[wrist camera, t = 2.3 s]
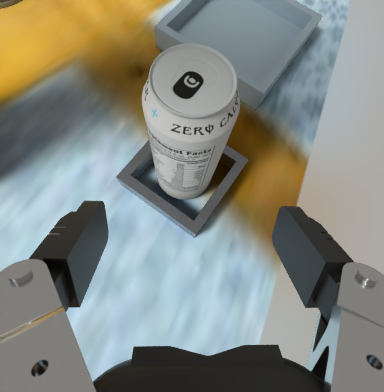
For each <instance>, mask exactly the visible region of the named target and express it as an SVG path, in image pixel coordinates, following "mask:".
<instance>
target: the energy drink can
mask: <svg viewBox="0 0 384 392" xmlns="http://www.w3.org/2000/svg"><path fill="white" fill-rule="evenodd" d="M142 107H143V112H144V117H145V122H146V126H147V131H148V136H149V141H150V145H151V150H152V155H153V160H154V165H155V169H156V174H157V179H158V182H159V184H160V186H161V188H162V189H163V190H164V191H165V192H166V193H167V194H168V195H170V196H172V197H174V198H177V199H183V200H184V199H192V198H195V197H197V196H199V195H200V194H202V193H203V192H204V191H205V190H206V189H207V187H208V185H209V183H210V181H211V178H212V176H213V174H214V171H215V169H216V167H217V164H218V162H219V159H220V157H221V155H222V152H223V150H224V148H225V145H226V143H227V141H228V138H229V136H230V134H231V131H232V129H233V127H234V124H235V122H236V120H237V117H238V114H239V110H240V98H239V93H238V90H237V75H236V72H235V69H234V67H233V65H232V64H231V62H230V61H229V60H228V59H227V58H226V57H225V56H224V55H223V54H222V53H220V52H219V51H217V50H215V49H213V48H211V47H209V46H206V45H202V44H196V43H185V44H178V45H175V46H172V47H170V48H168V49H166V50H164V51H163V52H162V53H160V54H159V55H158V56H157V57H156V59H155V60H154V61H153V63H152V65H151V67H150V72H149V78H148V79H147V81H146V84H145V86H144V88H143V92H142Z"/></svg>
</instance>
